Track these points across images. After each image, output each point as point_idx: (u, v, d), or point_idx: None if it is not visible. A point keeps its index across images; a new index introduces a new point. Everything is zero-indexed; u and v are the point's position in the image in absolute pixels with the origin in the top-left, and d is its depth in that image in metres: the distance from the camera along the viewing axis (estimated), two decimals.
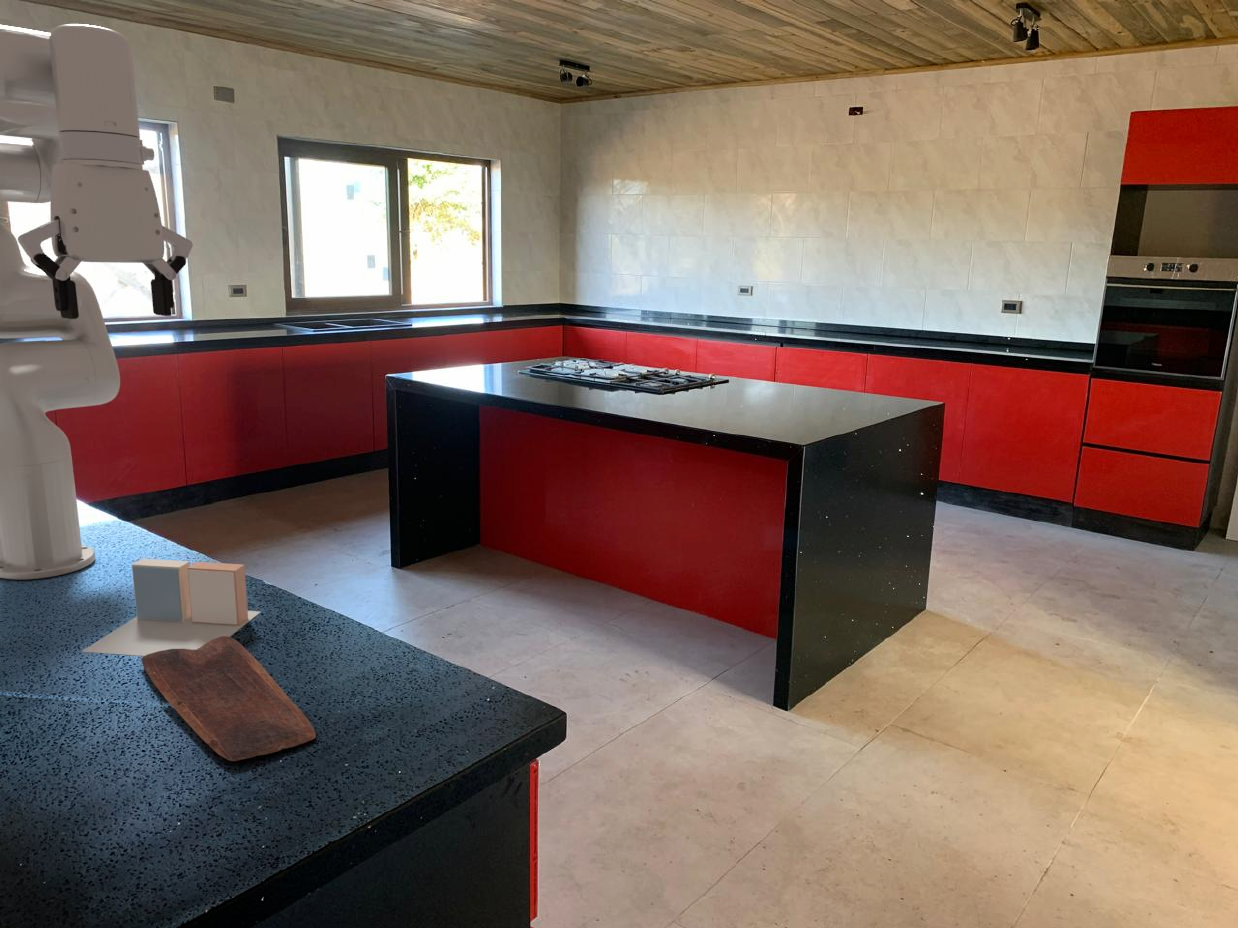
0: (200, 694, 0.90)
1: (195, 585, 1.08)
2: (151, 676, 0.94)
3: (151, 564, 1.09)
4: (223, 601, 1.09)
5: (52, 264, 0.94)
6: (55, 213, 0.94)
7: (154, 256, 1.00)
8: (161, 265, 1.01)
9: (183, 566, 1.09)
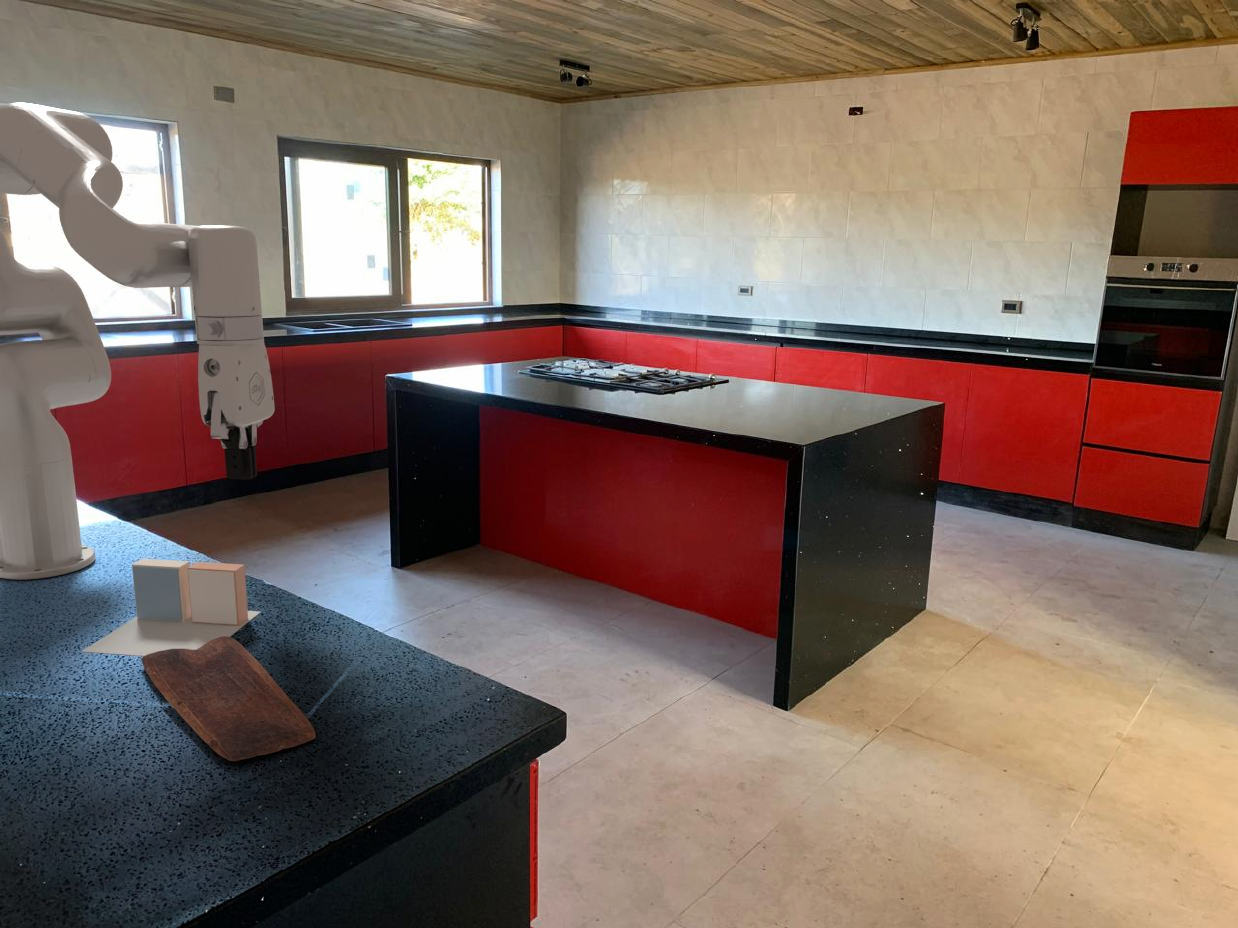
0: (200, 694, 0.90)
1: (195, 585, 1.08)
2: (151, 676, 0.94)
3: (151, 564, 1.09)
4: (223, 601, 1.09)
5: None
6: None
7: None
8: None
9: (183, 566, 1.09)
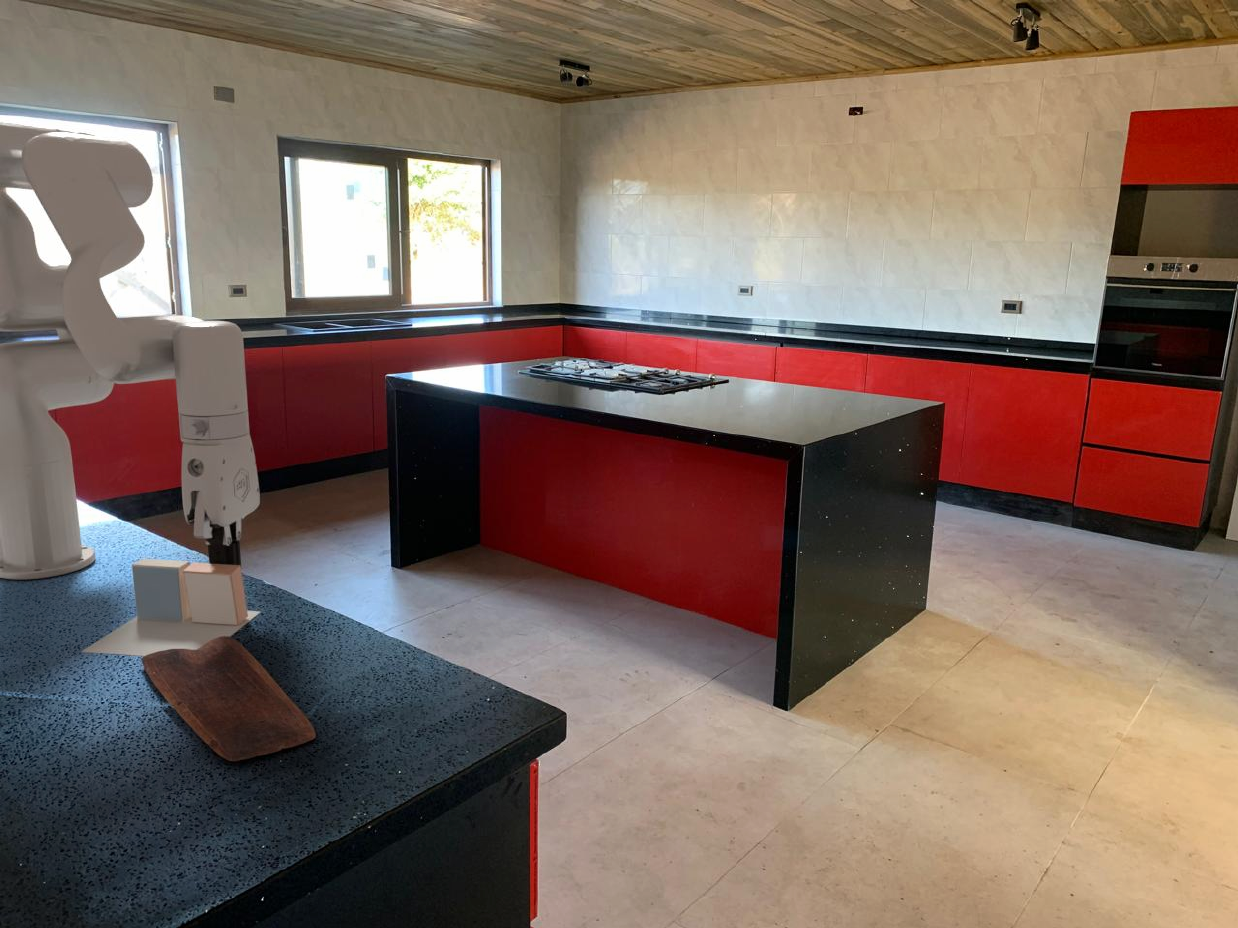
0: (200, 694, 0.90)
1: (192, 587, 1.08)
2: (151, 676, 0.94)
3: (151, 564, 1.09)
4: (221, 602, 1.08)
5: None
6: None
7: None
8: None
9: (183, 566, 1.09)
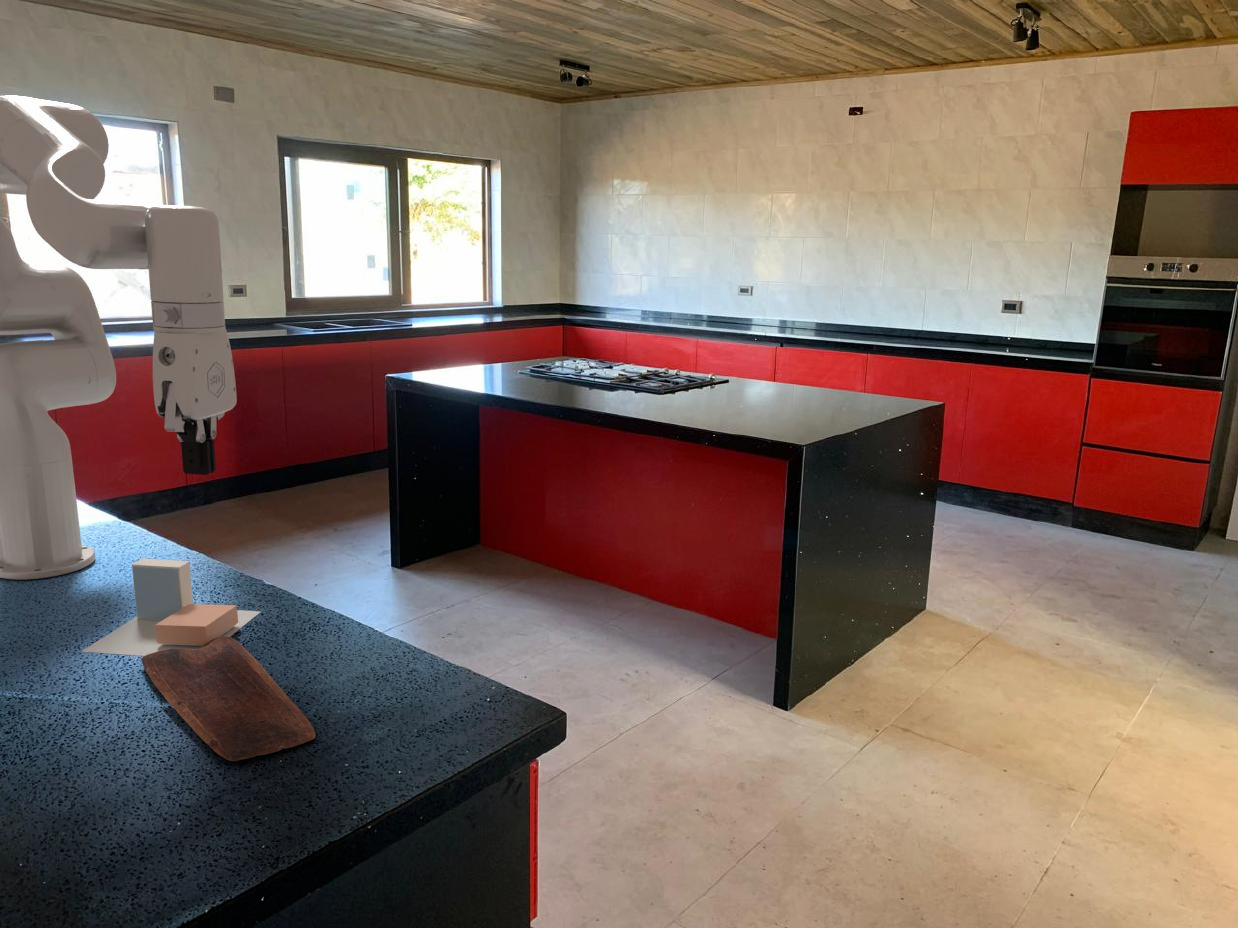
0: (200, 694, 0.90)
1: None
2: (151, 676, 0.94)
3: (151, 564, 1.09)
4: None
5: None
6: None
7: None
8: None
9: (183, 566, 1.09)
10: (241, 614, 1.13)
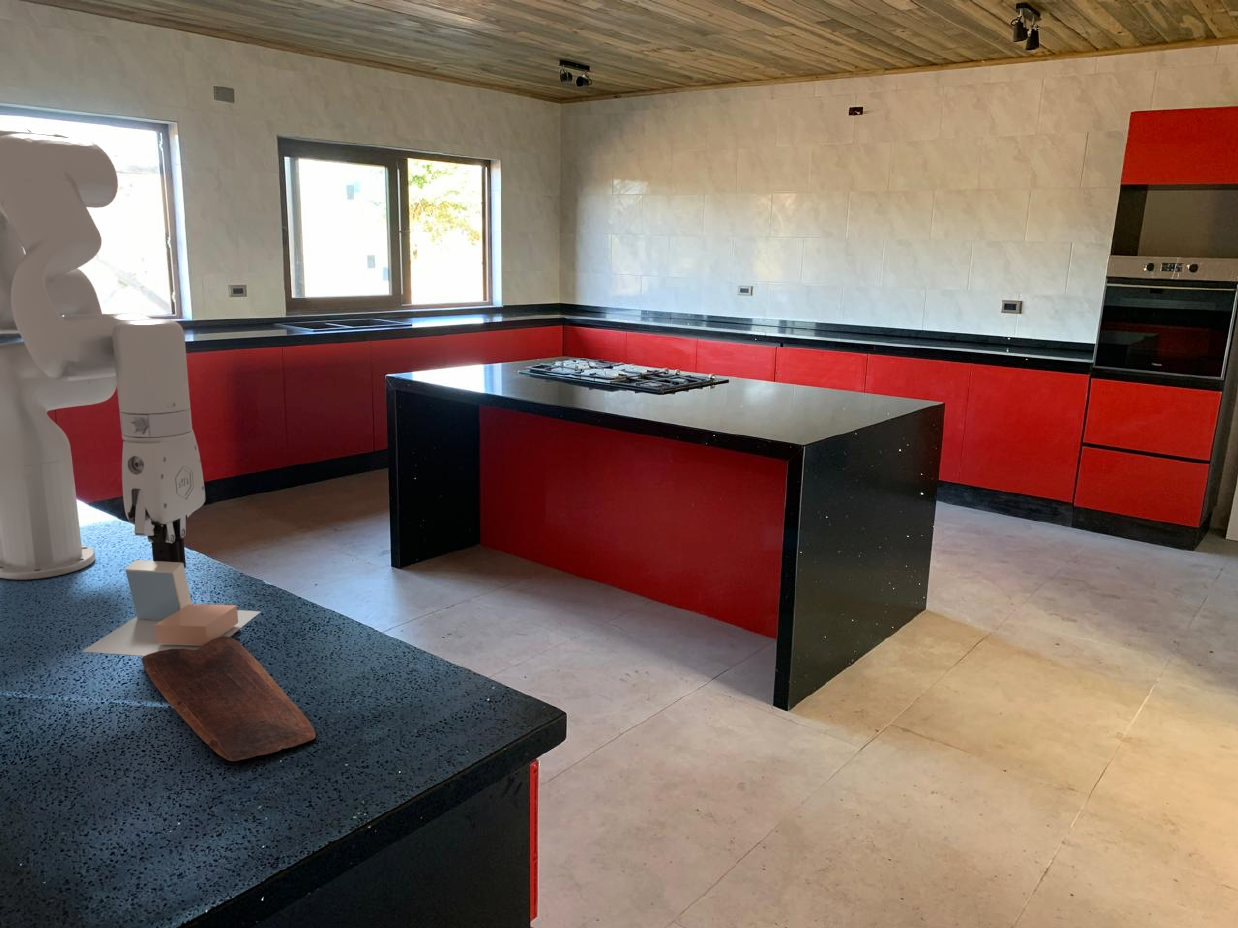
0: (200, 694, 0.90)
1: None
2: (151, 676, 0.94)
3: (145, 569, 1.08)
4: None
5: None
6: None
7: None
8: None
9: (177, 569, 1.08)
10: (241, 614, 1.13)
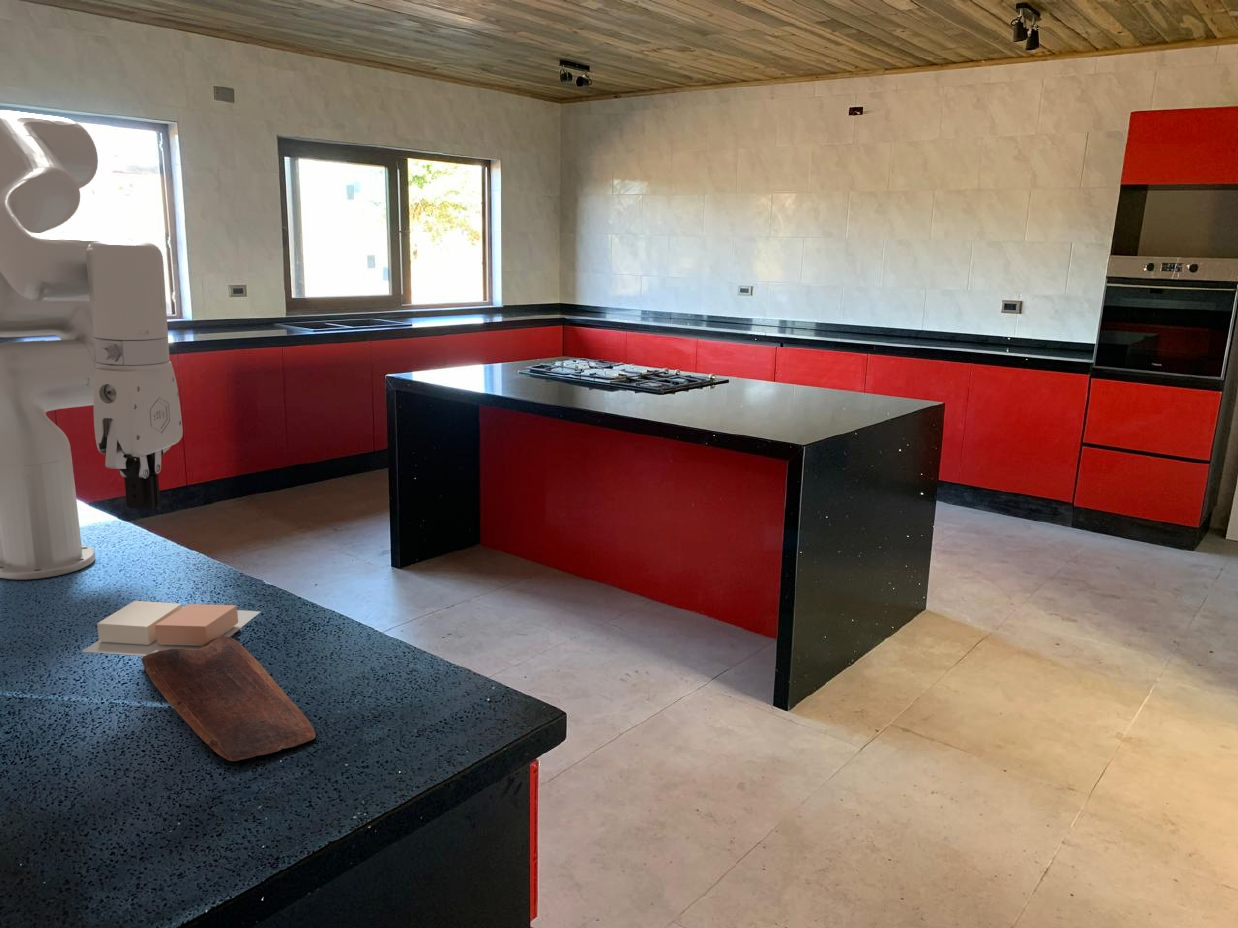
0: (200, 694, 0.90)
1: None
2: (151, 676, 0.94)
3: (118, 640, 1.03)
4: None
5: None
6: None
7: None
8: None
9: (149, 636, 1.03)
10: (241, 614, 1.13)
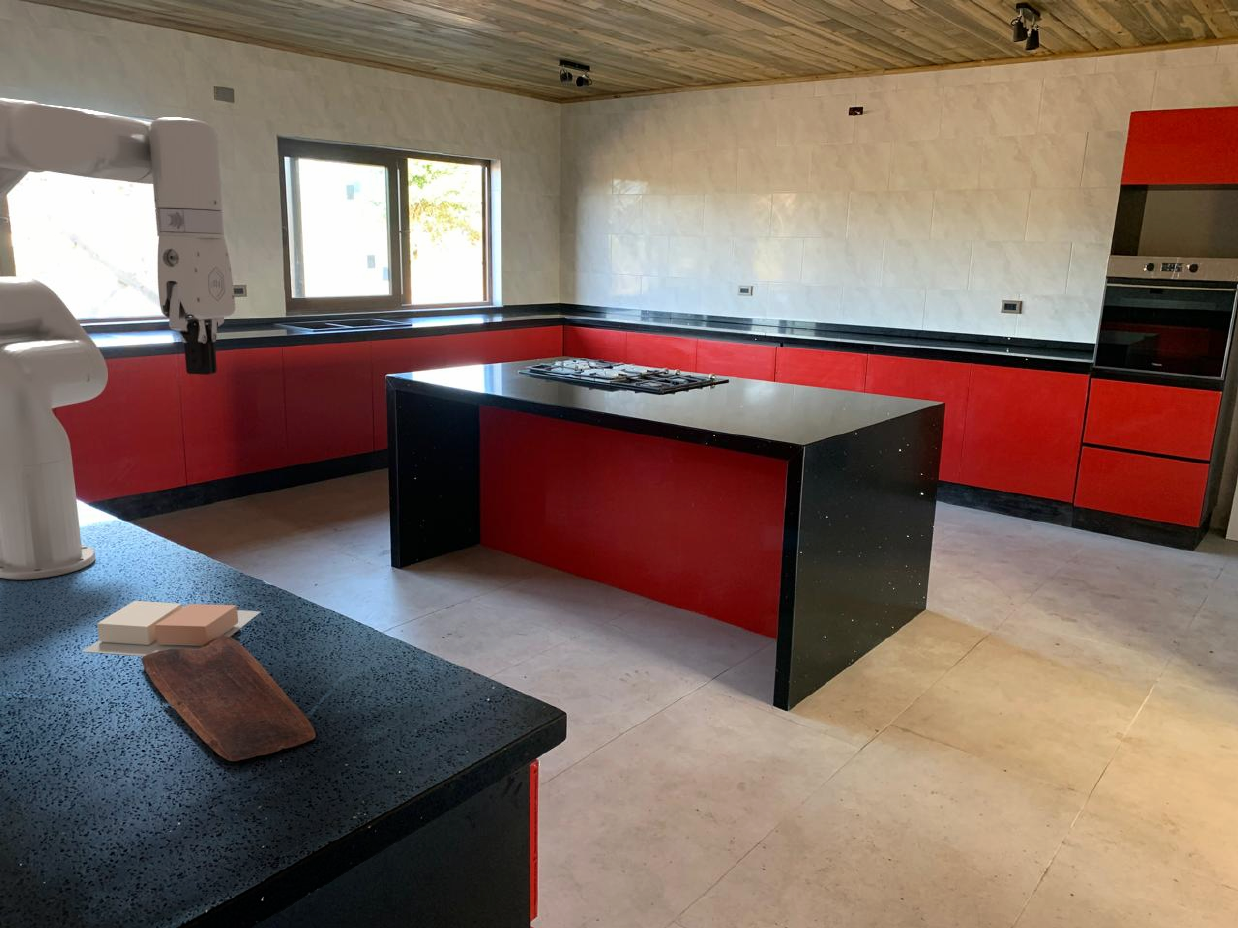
0: (200, 694, 0.90)
1: None
2: (151, 676, 0.94)
3: (118, 640, 1.03)
4: None
5: None
6: None
7: None
8: None
9: (149, 636, 1.03)
10: (241, 614, 1.13)
